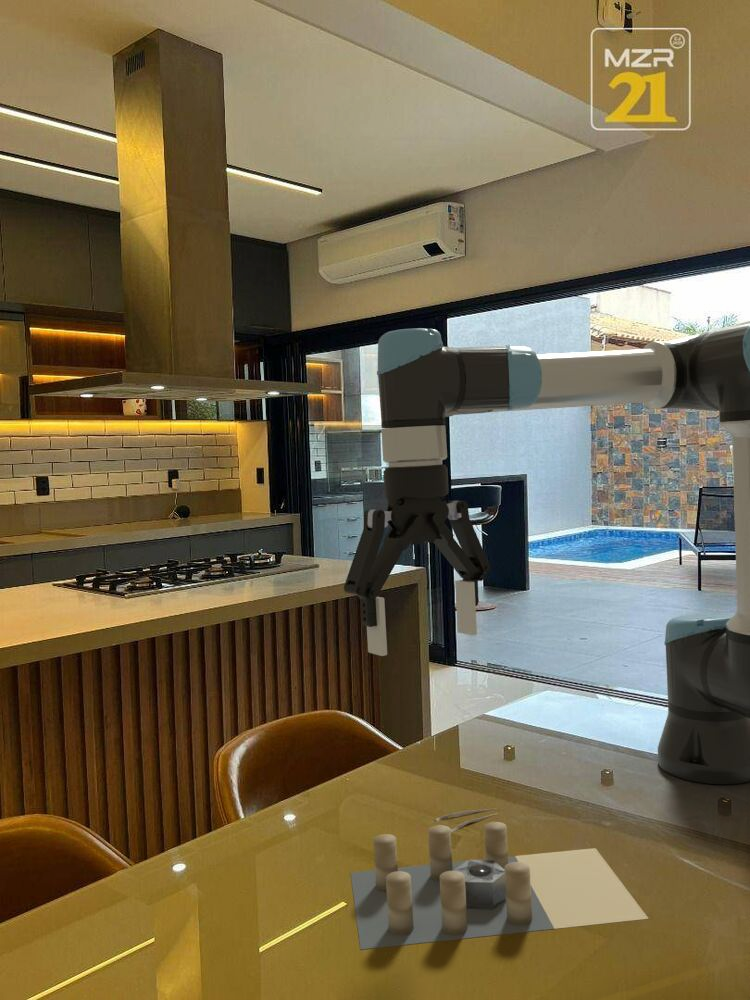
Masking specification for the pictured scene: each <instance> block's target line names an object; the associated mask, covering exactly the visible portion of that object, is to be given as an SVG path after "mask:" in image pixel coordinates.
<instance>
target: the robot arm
mask: <svg viewBox="0 0 750 1000" xmlns="http://www.w3.org/2000/svg"><path fill="white" fill-rule="evenodd" d="M376 375H377V379H378V382H377V383H378V392H379V395H378V396H379V408H380V418H381V420H380V421H381V422H380V423H381V429H380V432H381V447H382V461H383V462H384V463H385V464H386V463H388V466H387V467H385V468H384V470H383V471H382V472H383V488H384V489H383V490H384V492H383V493H384V496H385V498H386V500H387V507H386V510H382V509H373V508H372V509H371V508H370V509H369V508H368V509H365V511H364V513H363V530H362V533H361V535H360V539H359V542H358V544H357V548H356V550H355V553H354V556H353V558H352V561H351V564H350V567H349V571H348V573H347V576H346V578H345V582H344V585H343V590H344V592H345V593H347V594H350V595H354V596H357V597H358V599H359V601H360V602H359V603H360V619H361V620H360V621H361V624H362V626H365V627H366V636H367V637H366V639H367V653H369V654H373V655H376V656H381V657H383V656H384V657H385V656H388V643H387V642H388V641H387V627H386V625H387V623H386V608H385V607H386V606H385V605H386V604H385V602H386V601H385V598H384V597H381V596H379V594H380V592H381V590H382V588H383V587H384V585H385V583H386V582H387V580H388V578H389V577H390V574H391V573H392V571H393V569H394V568H395V566H396V564H397V562H398V561H399V559H400V557H401V555H402V554H403V552H404V551H405V550H407V549H408V548H409V546H410V545H411V546H414V545H415V546H416V545H421V544H422V543H433V544H434V545H435V546H436V547H437V549H438V550H439V552H441V554H442V555H443V556H444V558H445V559H446V561H448V563H449V564H450V565H451V566H452V567H453V569H454V571H455V572H456V573H457V574H458V575H459V576H460V578H461V579H456V580H455V581H454V585H455V603H456V604H455V605H456V606H455V607H456V608H455V609H456V625H457V626H456V629H457V633H460V634H463V635H467V636H476V635H478V634H477V633H478V631H477V629H478V627H477V610H476V609H477V608H476V606H479V600H480V599H479V582H482V581H483V580H484V579H485V574H488V573H490V572H491V569H492V566H491V564H490V562H489V559H488V557H487V555H486V553H485V551H484V550H485V549H483V546H482V544H481V541H480V539H479V536H478V535H477V533H476V530H475V528H474V526H473V524H472V521H471V520H470V512H469V506H468V502H467V501H465V500H448V502H446V501H447V500H446V496H447V495H448V494H449V474H448V467H447V466H446V464H443V460H447V458H448V449H447V445H448V444H447V433H446V432H447V431H446V418H448V417H453V416H458V415H459V416H460V415H461V416H462V415H472V414H473V415H474V414H485V413H498V412H515V411H531V410H533V411H534V410H545V409H561V408H562V409H563V408H577V407H595V406H609V405H610V406H612V405H626V404H628V405H629V404H642V403H643V404H644V405H645V406H646V407H647V408H649V409H653V410H659V409H662V410H663V409H683V410H695V411H696V410H698V411H711V412H712V411H713V412H719V425H720V426H721V428H723V429H724V430H725V431H726V432H727V433H729V435H731V439H732V442H731V443H732V470H733V473H732V476H733V503H734V504H733V505H734V506H733V508H734V509H733V510H734V511H733V512H734V538H735V539H734V540H735V541H734V542H735V543H734V544H735V574H736V575H735V576H736V577H735V578H736V605H737V606H736V609H737V610H736V612H706V613H705V612H703V613H694V614H693V613H692V614H683V615H680V616H675V617H673V618H671V619H670V620H669V621H667V623H666V626H665V637H664V643H663V644H664V646H665V657H666V658H665V660H666V663H665V664H666V665H665V666H666V684H667V685H666V686H667V707H668V709H667V717H666V720H665V724H664V726H663V730H662V732H661V737H660V739H659V742H658V746H657V764H658V765H659V767H660V768H661V769H662V770H663V771H664V772H666V773H667V774H670V775H671V776H673V777H676V778H678V779H679V778H680V779H683V780H687V781H691V782H695V783H701V784H702V783H703V784H711V785H712V784H714V785H736V784H737V785H738V784H744V783H747V782H748V783H749V782H750V321H745V322H741V323H737V324H733V325H729V326H724V327H719V328H715V329H714V328H713V329H711V330H706V331H704V332H703V331H702V332H701V333H696V334H694V335H689V336H685V337H681V338H677V339H672V340H664V341H663V340H662V341H651V342H649V343H647V344H646V345H645V346H644V347H642V349H625V350H623V349H622V350H605V351H604V350H603V351H585V352H563V353H545V354H544V353H543V354H542V353H541V354H537V353H536V351H534V350H533V349H532V348H530V347H528V346H514V345H510V344H505V345H502V346H501V345H500V346H476V347H473V346H469V347H467V346H466V347H451V346H444V343H443V339H442V334H441V333H440V331H438V330H437V329H433V328H422V327H419V328H418V327H417V328H403V329H396V330H391V331H387V332H385V333H383V335H381V336H380V337H379V338H378V343H377V371H376ZM447 519H448V520H449V524H450V526H451V528H452V531H453V532H452V531H451V529H450V528H449V527H448V525H447V524H446V521H447ZM388 526H389V527H390V528H389V530H388V531H387V533H386V535H385V536H384V532H385V528H387V527H388ZM454 535H455V538H456V539H455V538H454ZM383 537H384V539H383ZM456 540H457V541H456ZM382 543H383V545H382V547H381V548H380V546H381V544H382Z"/></svg>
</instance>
